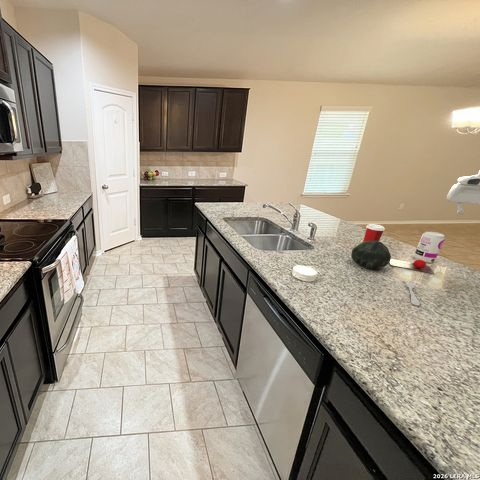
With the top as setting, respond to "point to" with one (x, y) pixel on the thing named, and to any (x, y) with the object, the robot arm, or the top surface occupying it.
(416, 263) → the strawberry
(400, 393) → the top surface
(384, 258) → the squash
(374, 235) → the coffee cup
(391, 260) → the serving board
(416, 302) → the fork
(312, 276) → the coaster
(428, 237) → the supplement can
